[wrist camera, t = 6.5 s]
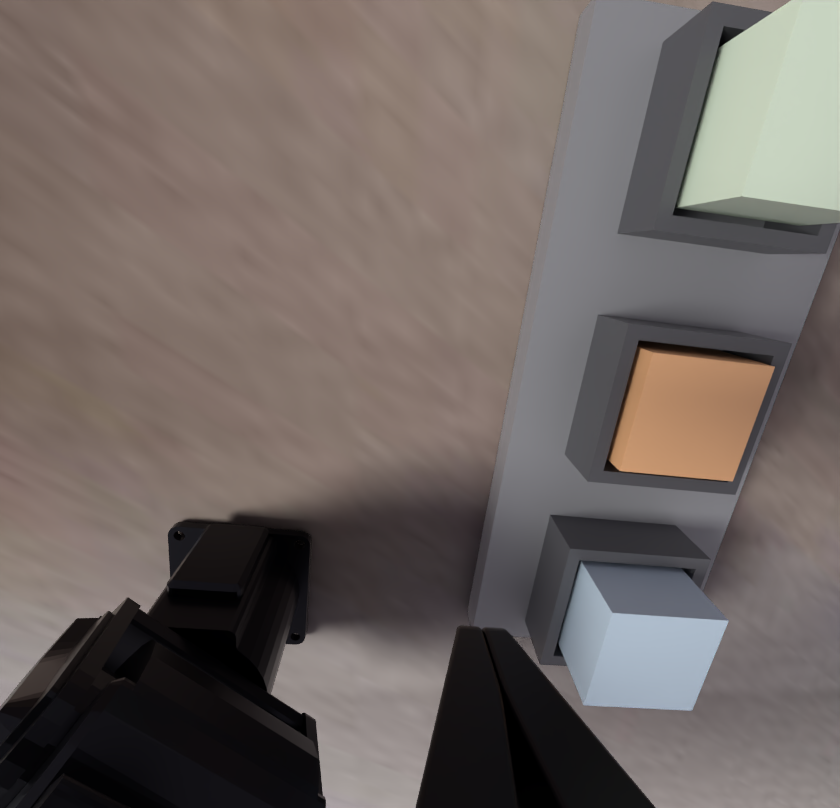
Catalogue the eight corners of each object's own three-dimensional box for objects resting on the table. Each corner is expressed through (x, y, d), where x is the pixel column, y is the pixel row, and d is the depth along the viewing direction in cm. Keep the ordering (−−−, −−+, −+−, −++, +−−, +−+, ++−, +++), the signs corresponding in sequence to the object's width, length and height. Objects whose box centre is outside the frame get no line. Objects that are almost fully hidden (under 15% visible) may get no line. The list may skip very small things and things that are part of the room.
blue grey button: (651, 647, 21) (691, 710, 18) (557, 641, 20) (583, 705, 17) (679, 566, 19) (728, 620, 16) (579, 559, 19) (612, 612, 16)
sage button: (799, 225, 15) (893, 218, 12) (675, 207, 15) (741, 196, 12) (854, 71, 14) (973, 23, 11) (718, 48, 13) (804, -9, 11)
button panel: (665, 624, 25) (714, 691, 21) (467, 611, 24) (480, 678, 20) (865, 65, 17) (1001, 9, 13) (579, 15, 16) (636, -60, 12)
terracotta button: (684, 449, 20) (732, 481, 17) (587, 439, 19) (619, 470, 16) (716, 349, 18) (775, 366, 15) (612, 337, 18) (653, 352, 15)
